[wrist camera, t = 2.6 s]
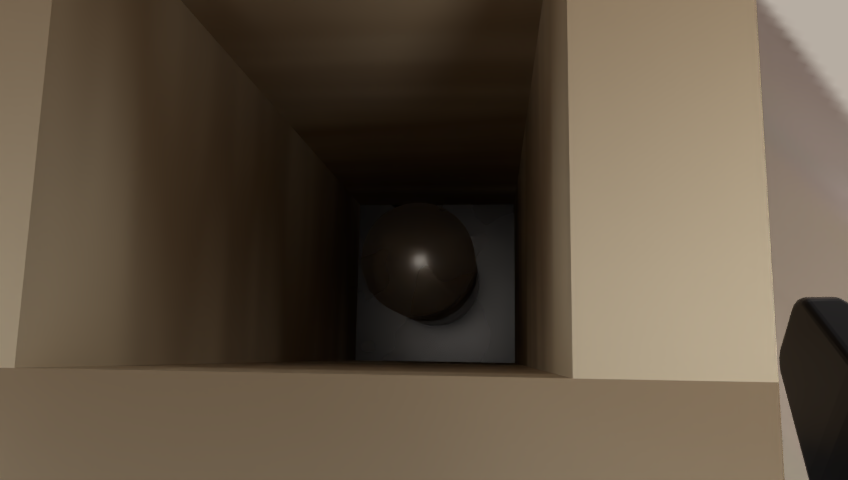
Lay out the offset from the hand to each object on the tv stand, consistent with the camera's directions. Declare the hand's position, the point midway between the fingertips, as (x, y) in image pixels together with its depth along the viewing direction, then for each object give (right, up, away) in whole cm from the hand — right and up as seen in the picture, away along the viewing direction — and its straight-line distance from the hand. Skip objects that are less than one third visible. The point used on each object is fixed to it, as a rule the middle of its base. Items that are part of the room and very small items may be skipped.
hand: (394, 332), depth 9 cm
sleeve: (+1, 0, +8) cm, 8 cm away
